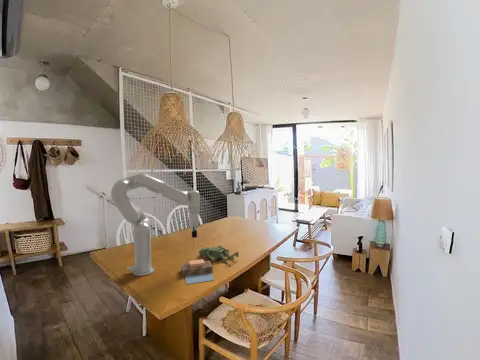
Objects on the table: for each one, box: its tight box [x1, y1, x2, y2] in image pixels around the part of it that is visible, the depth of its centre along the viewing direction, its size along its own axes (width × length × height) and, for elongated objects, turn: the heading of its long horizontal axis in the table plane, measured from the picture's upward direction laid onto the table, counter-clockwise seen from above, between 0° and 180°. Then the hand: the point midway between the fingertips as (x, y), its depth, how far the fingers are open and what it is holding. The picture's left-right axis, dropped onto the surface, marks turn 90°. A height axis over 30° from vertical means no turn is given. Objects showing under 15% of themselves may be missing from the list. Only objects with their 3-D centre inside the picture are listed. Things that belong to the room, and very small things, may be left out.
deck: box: [181, 260, 214, 278], centre depth 160 cm, size 18×10×4 cm, turn 107°
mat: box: [184, 273, 215, 285], centre depth 150 cm, size 16×10×1 cm, turn 107°
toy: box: [198, 245, 240, 263], centre depth 182 cm, size 21×8×30 cm
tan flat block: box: [188, 258, 205, 268], centre depth 160 cm, size 9×6×2 cm, turn 107°
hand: (194, 237), depth 168 cm, fingers closed
